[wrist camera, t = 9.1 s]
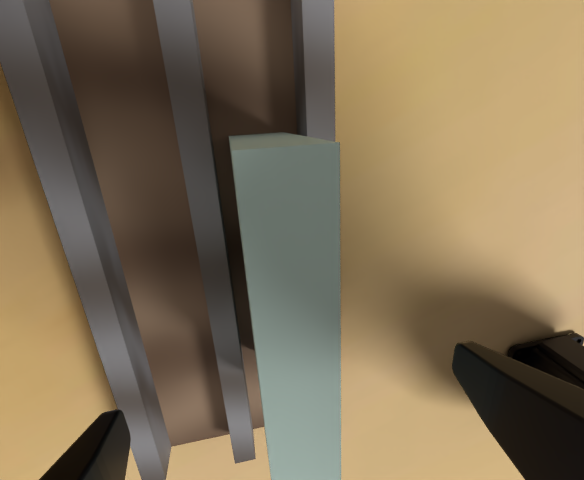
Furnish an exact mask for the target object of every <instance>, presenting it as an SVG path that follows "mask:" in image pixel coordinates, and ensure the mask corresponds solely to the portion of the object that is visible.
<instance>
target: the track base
mask: <svg viewBox="0 0 584 480" xmlns="http://www.w3.org/2000/svg"><path fill="white" fill-rule="evenodd" d="M0 63H1V66H2V69H3V72H4V75H5V78H6V81H7V84H8V87H9V89H10V92H11V95H12V98H13V101H14V104H15V107H16V110H17V113H18V116H19V119H20V122H21V125H22V128H23V131H24V134H25V137H26V140H27V143H28V146H29V148H30V151H31V154H32V157H33V160H34V163H35V166H36V169H37V172H38V175H39V178H40V181H41V184H42V187H43V190H44V193H45V196H46V199H47V202H48V205H49V207H50V210H51V213H52V216H53V219H54V222H55V225H56V228H57V231H58V234H59V237H60V240H61V243H62V246H63V249H64V252H65V255H66V258H67V261H68V264H69V266H70V269H71V272H72V275H73V278H74V281H75V284H76V287H77V290H78V293H79V296H80V299H81V302H82V305H83V308H84V311H85V314H86V317H87V320H88V322H89V325H90V328H91V331H92V334H93V337H94V340H95V343H96V346H97V349H98V352H99V355H100V358H101V361H102V364H103V367H104V370H105V373H106V376H107V379H108V381H109V384H110V387H111V390H112V393H113V396H114V399H115V402H116V405H117V408H118V409H119V410H122V411H123V413H124V416H125V419H126V422H127V425H128V428H129V431H130V436H131V442H130V446H131V449H132V452H133V455H134V458H135V461H136V464H137V467H138V470H139V473H140V476H141V479H142V480H166V475H167V469H168V463H169V457H170V451H171V447H172V446H176V445H181V444H185V443H190V442H195V441H199V440H204V439H209V438H213V437H218V436H223V435H227V434H230V438H231V443H232V449H233V454H234V460H235V463H240V462H244V461H248V460H253V459H256V458H255V447H254V436H253V429H255V428H260V427H264V419H263V411H262V403H261V396H260V388H259V380H258V372H257V364H256V356H255V349H254V340H253V332H252V324H251V316H250V308H249V299H248V291H247V283H246V275H245V267H244V259H243V250H242V242H241V234H240V226H239V218H238V209H237V201H236V193H235V185H234V177H233V169H232V160H231V152H230V144H229V136H235V135H250V134H264V133H279V132H285V133H290V134H296V135H301V136H307V137H312V138H318V139H324V140H329V141H335V59H334V0H0Z"/></svg>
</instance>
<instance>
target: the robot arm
mask: <svg viewBox="0 0 584 480" xmlns="http://www.w3.org/2000/svg"><path fill="white" fill-rule="evenodd" d="M583 341H584V337H582V336H581V335H579V334H577V333H574V334H569V335H564V336H559V337H554V338H549V339H544V340H539V341H534V342H529V343H524V344H519V345H515V346H513V347H511V349H510V350H509V353H508V357H507V356H505V355H502V354H500V353H498V352H495V351H493V350H491V349H488V348H486V347H484V346H481V345H479V344H477V343H474V342H472V341H466V342H461V343H457V344H456V346H455V349H454V356H453V362H452V369H453V372H454V375H455V376H456V378H457V380H458V381H459V383H460V385H461V386H462V388H463V390H464V391H465V393H466V395H467V396H468V398H469V399H470V401H471V403H472V404H473V406H474V408H475V409H476V411H477V413H478V414H479V416H480V418H481V419H482V421H483V422H484V424H485V425H486V427H487V428H488V430H489V431H490V432H491V434H492V435H493V437H494V438H495V439H496V441H497V442H498V443H499V445H500V446H501V448H502V449H503V450H504V452H505V453H506V454H507V456H508V457H509V458H510V460H511V461H512V463H513V464H514V465H515V467H516V468H517V469H518V471H519V472H520V473H521V475H522V476H523V478H524V479H525V480H584V346H582V345H583ZM130 442H131V436H130V431H129V428H128V425H127V422H126V419H125V416H124V413H123V411H122V410H119V409H118V410H113V411H108V412H104V413H102V414H101V415H100V416H99V417H98V418H97V419H96V420H95V421H94V422H93V423H92V424H91V425H90V426H89V427H88V428H87V429H86V430H85V431H84V432H83V434H82V435H81V436H80V437H79V438H78V439H77V440H76V441H75V442H74V443H73V444H72V445H71V446H70V447H69V448H68V449H67V451H66V452H65V453H64V454H63V455H62V456H61V457H60V458H59V459H58V460H57V461H56V462H55V463H54V464H53V465H52V466H51V467H50V469H49V470H48V471H47V472H46V473H45V474H44V475H43V476H42V477H41V478H40V479H39V480H125V475H126V469H127V462H128V456H129V449H130Z"/></svg>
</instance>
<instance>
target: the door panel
mask: <svg viewBox="0 0 584 480" xmlns="http://www.w3.org/2000/svg"><path fill="white" fill-rule="evenodd" d="M229 144H230V152H231V160H232V169H233V177H234V185H235V193H236V201H237V209H238V218H239V226H240V234H241V242H242V250H243V259H244V267H245V275H246V283H247V291H248V299H249V308H250V316H251V324H252V332H253V340H254V349H255V356H256V364H257V372H258V380H259V388H260V396H261V403H262V411H263V419H264V427H265V435H266V443H267V450H268V458H269V466H270V474H271V480H341V326H340V142H335V141H329V140H324V139H318V138H312V137H307V136H301V135H296V134H290V133H285V132H279V133H264V134H250V135H235V136H229Z"/></svg>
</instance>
